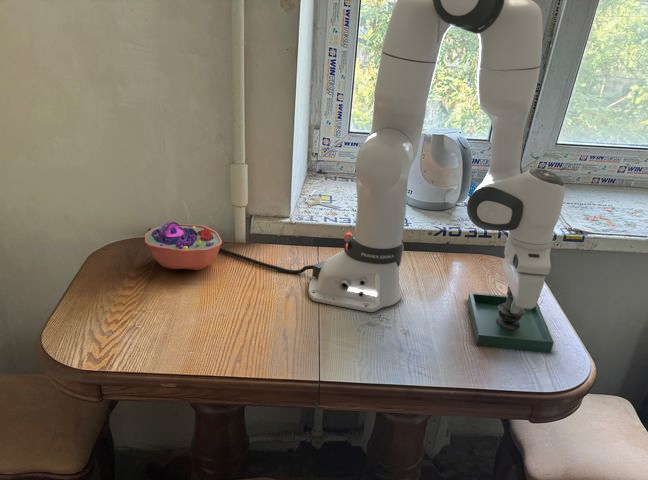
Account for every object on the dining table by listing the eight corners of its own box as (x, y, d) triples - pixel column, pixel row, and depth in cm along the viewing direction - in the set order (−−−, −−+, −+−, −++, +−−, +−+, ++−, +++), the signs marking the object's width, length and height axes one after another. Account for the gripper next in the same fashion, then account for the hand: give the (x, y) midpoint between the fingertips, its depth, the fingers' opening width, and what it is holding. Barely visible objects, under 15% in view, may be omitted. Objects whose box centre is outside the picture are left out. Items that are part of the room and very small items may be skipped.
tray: (476, 345, 129) (478, 334, 127) (467, 301, 145) (469, 292, 144) (550, 352, 127) (553, 342, 126) (532, 308, 144) (535, 298, 142)
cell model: (199, 289, 144) (197, 245, 138) (132, 270, 151) (127, 227, 144) (236, 262, 157) (235, 222, 151) (173, 246, 164) (169, 206, 157)
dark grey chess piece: (522, 331, 133) (536, 283, 126) (495, 327, 134) (507, 279, 127) (519, 318, 138) (533, 271, 131) (493, 315, 139) (505, 268, 132)
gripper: (504, 229, 135) (491, 284, 142) (520, 268, 118) (504, 328, 125) (532, 231, 134) (518, 286, 142) (553, 271, 117) (535, 331, 125)
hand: (512, 306), depth 133 cm, fingers closed on dark grey chess piece, 3 cm apart
